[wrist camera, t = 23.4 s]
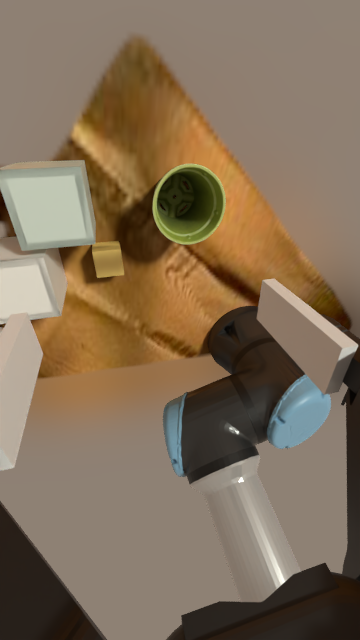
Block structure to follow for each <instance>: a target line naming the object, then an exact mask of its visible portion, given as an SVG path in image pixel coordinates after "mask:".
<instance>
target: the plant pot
mask: <svg viewBox="0 0 360 640" xmlns="http://www.w3.org/2000/svg"><path fill="white" fill-rule="evenodd" d="M166 180H168V182H166V183H165V184H164V185H163V183H164V182H165V181H166ZM183 181H185V182H186V183H187V185H188V187H189V189H187V188H186V186H185V185H184V184H183ZM162 185H163V186H162ZM173 195H176V198H173ZM160 203H161V204H162V206H163V207H164V208H165V209H166V211H164V210H163V209H162V208H161V207H160V205H159V204H160ZM225 204H226V198H225V192H224V189H223V186H222V184H221V182H220V180H219V179H218V177H217V176H216V175H215V174H214V173H213V172H212V171H211V170H209V169H208V168H206V167H204V166H201V165H198V164H183V165H180V166H177V167H175V168H173V169H172V170H170V171H169V172H168V173H167V174H166V175H165V176H164V177H163V178H161V179H160V181H159V182H158V183H157V185H156V188H155V192H154V197H153V204H152V209H153V216H154V220H155V222H156V225H157V227H158V228H159V230H160V231H161V232H162V234H163V235H164V236H165V237H167V238H168V239H169V240H171V241H173V242H176V243H179V244H195V243H198V242H201V241H203V240H205V239H206V238H208V237H209V236H210V235H211V234H212V233H213V232H214V231H215V230H216V229H217V227H218V226H219V224H220V222H221V221H222V218H223V215H224V211H225ZM185 205H187V207H186V208H185V209H184V211H182V212H180V210H181V209H182V208H183V207H184V206H185Z"/></svg>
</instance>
